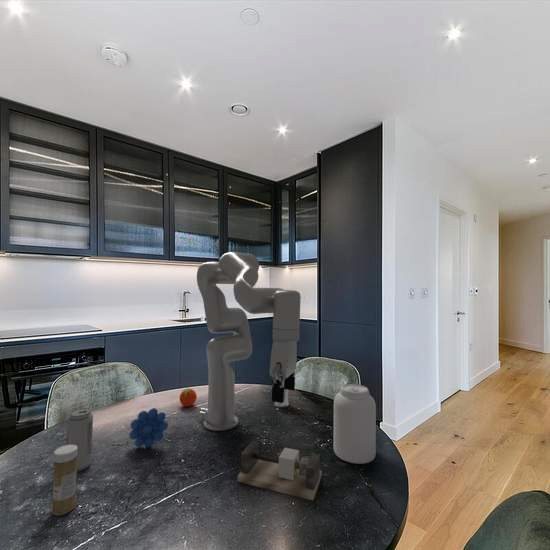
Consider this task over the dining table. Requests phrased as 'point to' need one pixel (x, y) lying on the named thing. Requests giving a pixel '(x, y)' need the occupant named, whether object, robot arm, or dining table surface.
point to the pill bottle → (64, 479)
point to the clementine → (188, 397)
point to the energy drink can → (81, 436)
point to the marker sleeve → (288, 463)
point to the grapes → (148, 428)
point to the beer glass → (284, 398)
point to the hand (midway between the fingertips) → (283, 395)
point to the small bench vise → (266, 473)
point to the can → (354, 424)
